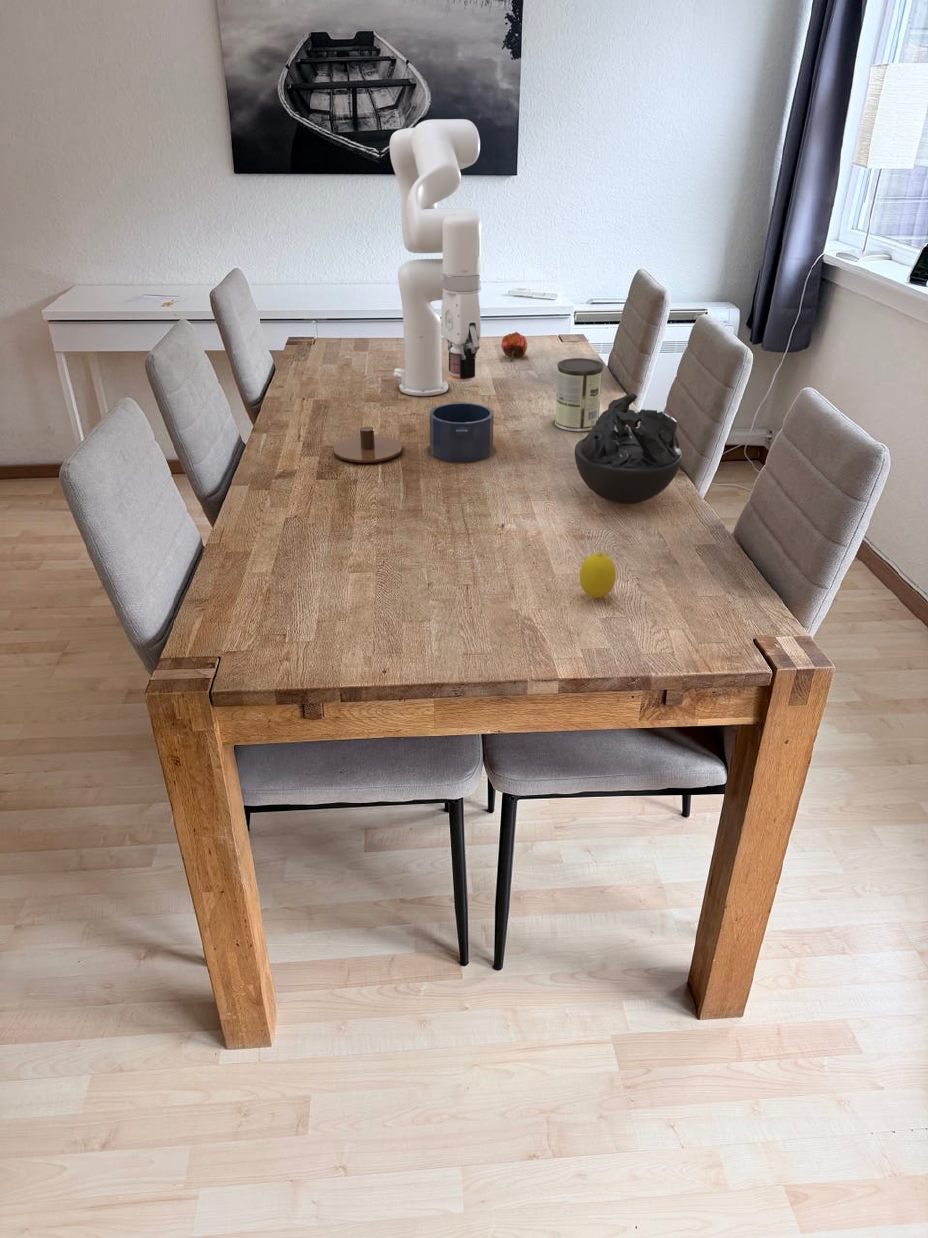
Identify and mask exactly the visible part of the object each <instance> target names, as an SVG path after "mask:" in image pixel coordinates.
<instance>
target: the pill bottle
mask: <svg viewBox="0 0 928 1238" xmlns="http://www.w3.org/2000/svg"><path fill="white" fill-rule="evenodd" d="M465 343H470V340H466V342H465ZM452 346H453V347H452V348H451V349H450V371H449V373H450V377H449V378H450V380H451V381H453V382H457V383H467V382H470V381H473V379H474V378H467V379H461V378H460V359H462V356H461V346H458V345H456V344H454V343H453V342H452ZM468 348H470V346H465V349H466V350H467V349H468Z"/></svg>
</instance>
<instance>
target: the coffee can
mask: <svg viewBox="0 0 928 1238" xmlns="http://www.w3.org/2000/svg"><path fill="white" fill-rule="evenodd" d="M603 370H604V363H602V362H601V361H599V360H596V359H592V358H582V357H575V358H574V357H573V358H566V359H563V360H560V361H558V362H557V381H556V382H557V383H556V399H555V400H556V401H555V402H556V403H555V418H554V419H555V420H554V425H555V426H556V427H557V428H559V429H561V430H563V431H568V432H588V431H589V432H590V431H591V429H592V427H593V426H594V425H596V421H597V420H598V419H599V417H600V407H601V406H600V405H601V396H602V395H601V394H602V393H601V392H602V382H603Z"/></svg>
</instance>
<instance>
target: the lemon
mask: <svg viewBox="0 0 928 1238" xmlns="http://www.w3.org/2000/svg"><path fill="white" fill-rule="evenodd" d="M579 572H580V573H579V583H580V586H581V588H582V590H583V591H584V593H586V595H588V596H590V597H592V598H593V599H599V598H601V597H605V596H607V595H608V594H609V593H610V592H611V591H612V590H613V588H614V586H615V584H616V580H617V571H616V566H615V563H614V561H613V560H612V558H611V557H609V556H608V555H606V554H604V553H602V552H597V553H593V554H591V555H589V556H588V557H586V559H584V560H583V563H582V565H581V568H580V571H579Z"/></svg>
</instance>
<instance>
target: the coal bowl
mask: <svg viewBox="0 0 928 1238" xmlns="http://www.w3.org/2000/svg"><path fill="white" fill-rule="evenodd" d="M637 398H638V395H636V393H629V394H626V395H624V396H622V397H619V398H617V399H613V400H611V401H610V403H608V405H607V406H608V407H607V409H606V410H603V412H601V414H599V419H598V420H597V421H596V425H594V426H593V427H592V429H591V430H589V432H588V433H587V435H586V436H585V437H584V438H582V439H580V440H578V442H577V443H576V444H575V447H574V460H575V465H576V468H577V471H578V473H579V476H580V477H581V479H582V481H583V482H584V484H585V485H586V486H587V487H588V488H589V489H590V491H592V492H593V493H594V494H596V495H597V496H598V497H600V498H602V499H604V500H606V501H608V502H612V503H616V504H623V505H630V504H639V503H642V502H646V501H648V500H650V499H652V498H654V497H656V496H658V495H659V494H660V493H662V492H663V491H664V490H665V489H667V487H668V486H669V485H670V484H671V483H672V481H673V480H674V478H675V477H676V475H677V474H678V471H679V470H680V466H681V464H682V460H683V452H682V450H681V449H680V443H679V440H678V437H677V429H678V422H677V420H676V419H675V418H674V417H672V416H670V415H669V414H667V413H666V412H664V411H658V410H657V409H642V408H641V409H640V410H639V411H637V410H635V409H630V406H631V405H632V404H633V403H634V402H635V401H636V399H637ZM639 422H640V423H639Z"/></svg>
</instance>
